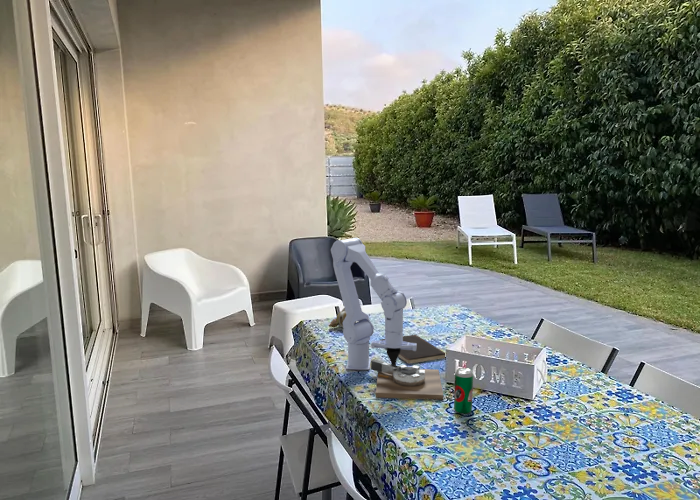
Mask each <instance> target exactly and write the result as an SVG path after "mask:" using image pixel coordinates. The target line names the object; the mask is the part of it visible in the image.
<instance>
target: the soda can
mask: <svg viewBox="0 0 700 500" xmlns="http://www.w3.org/2000/svg"><path fill="white" fill-rule="evenodd" d="M473 394H474V374H473V371H472V370H471V369H470V368H464V367H460V368H457V369H456V372H455V374H454V394H453V396H454V398H453V411H454V412H456V413H458V414H460V415H467V414H470V413H472V411H473Z"/></svg>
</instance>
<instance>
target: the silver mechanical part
mask: <svg viewBox="0 0 700 500" xmlns="http://www.w3.org/2000/svg"><path fill="white" fill-rule="evenodd" d="M422 369H423V368H421V366H418V365H413V366H412V365H411V366H407V365H406V364H401V365H397V364H396V365H392V364H391V363H388V362H385V361H383V360H379V359H376V358H374V359H371V363H370V370H372V371H375V372H377V373H378V372H384V373H387V374H391V375H393V381H394V382H395V383H396V384H399V385H402V386H418V385H421V384H423V383H424V382H425V370H422Z"/></svg>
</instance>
